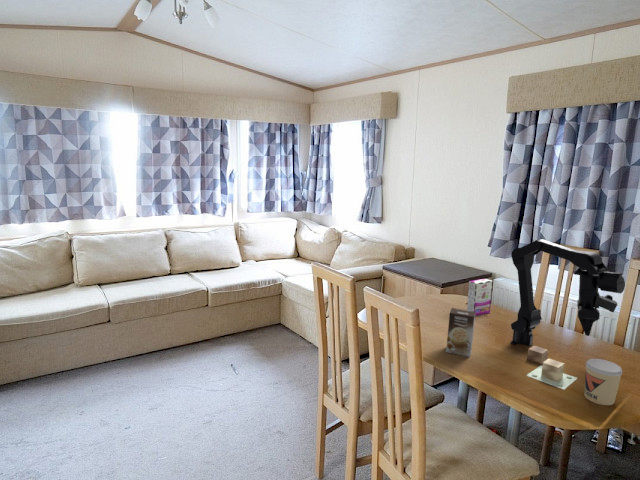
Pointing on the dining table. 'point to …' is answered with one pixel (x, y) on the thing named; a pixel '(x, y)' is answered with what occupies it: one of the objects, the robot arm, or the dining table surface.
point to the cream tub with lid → (602, 381)
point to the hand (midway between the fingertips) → (586, 331)
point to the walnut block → (537, 354)
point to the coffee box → (460, 332)
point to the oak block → (552, 370)
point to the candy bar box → (479, 296)
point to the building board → (562, 383)
